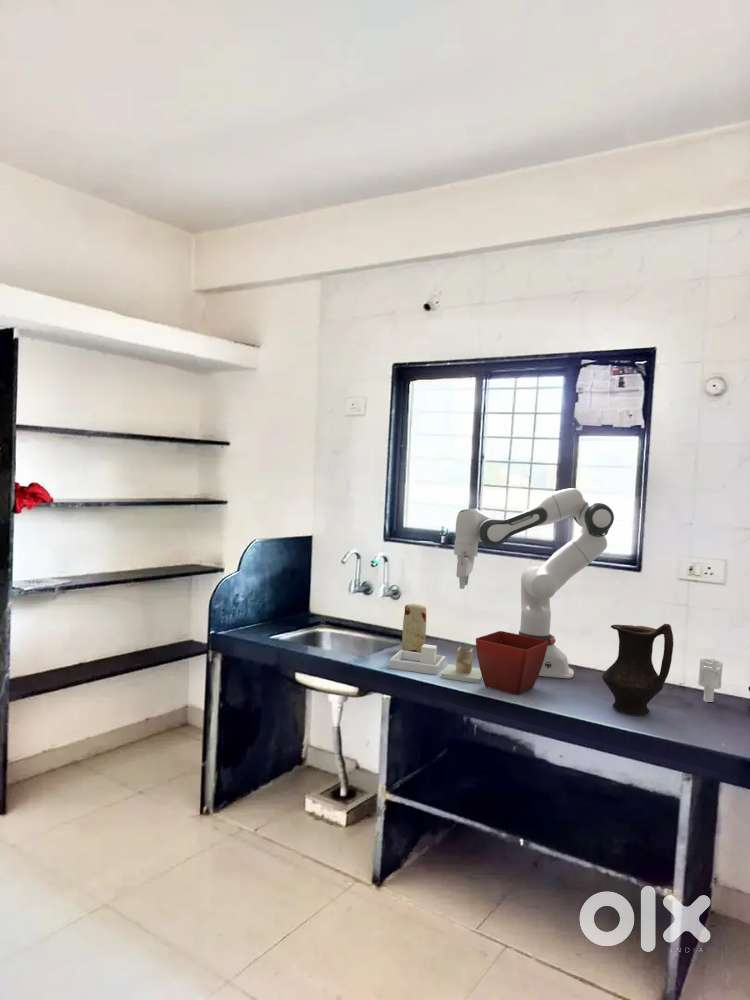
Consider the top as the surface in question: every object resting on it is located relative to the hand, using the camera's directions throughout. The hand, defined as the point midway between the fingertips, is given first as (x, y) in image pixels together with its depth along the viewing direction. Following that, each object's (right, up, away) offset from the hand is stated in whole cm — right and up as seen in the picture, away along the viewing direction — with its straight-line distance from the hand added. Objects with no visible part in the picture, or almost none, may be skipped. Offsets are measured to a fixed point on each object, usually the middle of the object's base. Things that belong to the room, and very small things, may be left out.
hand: (463, 586), depth 263 cm
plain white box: (-14, -30, -6) cm, 33 cm away
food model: (-19, -29, +14) cm, 37 cm away
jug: (+49, -35, -43) cm, 74 cm away
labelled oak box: (-2, -29, -13) cm, 32 cm away
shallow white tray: (-18, -29, -5) cm, 35 cm away
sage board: (-2, -31, -13) cm, 33 cm away
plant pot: (+12, -32, -25) cm, 42 cm away
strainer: (+81, -36, -26) cm, 92 cm away
